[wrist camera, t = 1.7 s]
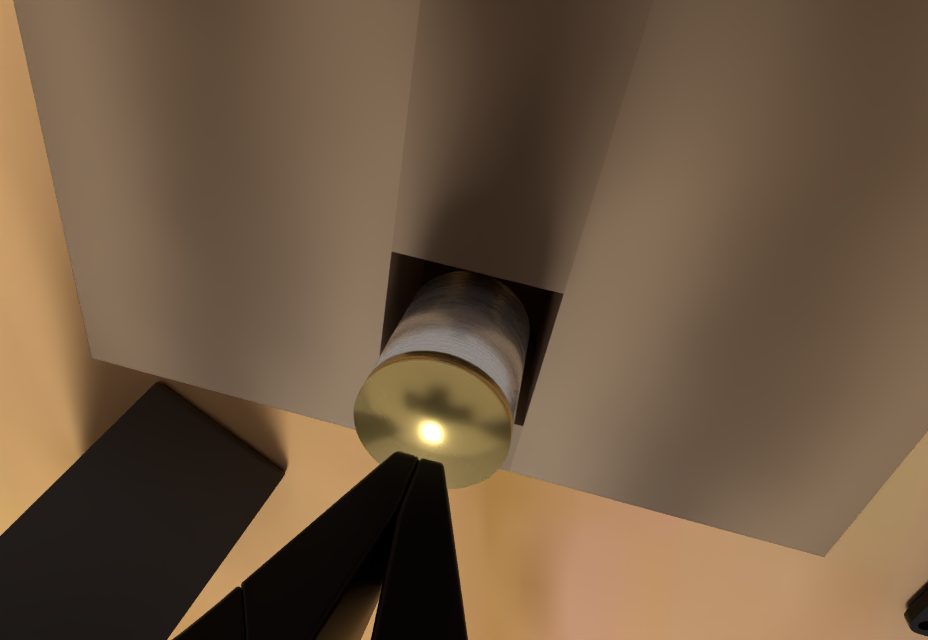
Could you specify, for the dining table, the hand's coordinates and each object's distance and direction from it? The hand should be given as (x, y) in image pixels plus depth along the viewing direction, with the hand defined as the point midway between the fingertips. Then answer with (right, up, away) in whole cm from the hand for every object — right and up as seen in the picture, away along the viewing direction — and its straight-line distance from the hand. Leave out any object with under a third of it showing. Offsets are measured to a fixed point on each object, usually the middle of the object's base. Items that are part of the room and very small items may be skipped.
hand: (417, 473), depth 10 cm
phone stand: (-11, -4, +15) cm, 19 cm away
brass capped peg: (+1, +3, +4) cm, 5 cm away
